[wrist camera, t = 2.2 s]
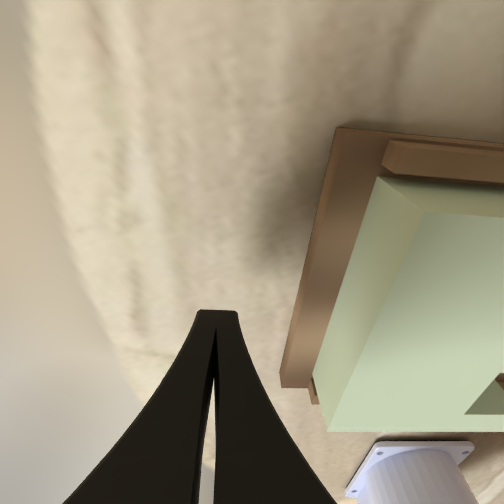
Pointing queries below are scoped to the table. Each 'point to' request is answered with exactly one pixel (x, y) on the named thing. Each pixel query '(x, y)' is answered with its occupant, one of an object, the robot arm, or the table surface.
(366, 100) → the table surface
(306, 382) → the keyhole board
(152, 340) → the table surface
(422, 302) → the panel
